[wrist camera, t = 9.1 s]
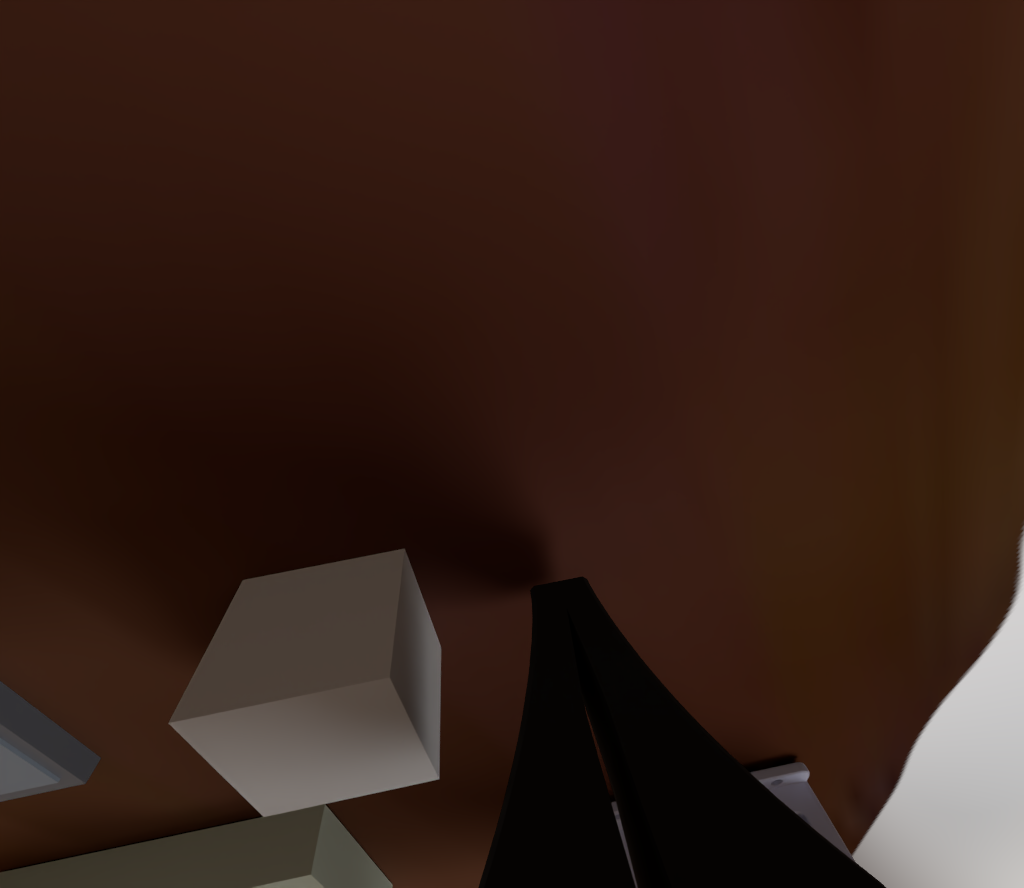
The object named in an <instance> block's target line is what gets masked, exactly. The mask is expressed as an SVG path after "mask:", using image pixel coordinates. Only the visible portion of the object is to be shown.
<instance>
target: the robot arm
mask: <svg viewBox="0 0 1024 888" xmlns="http://www.w3.org/2000/svg"><path fill="white" fill-rule="evenodd" d="M530 592H531V598H532V615H533V624H532V645H531V656H530V667H529V676H528V683H527V690H526V696H525V703H524V710H523V716H522V721H521V727H520V732H519V737H518V742H517V747H516V751H515V756H514V761H513V765H512V769H511V773H510V778H509V782H508V786H507V790H506V794H505V798H504V802H503V806H502V809H501V813H500V817H499V821H498V824H497V828H496V831H495V835H494V838H493V841H492V845H491V848H490V851H489V855H488V858H487V861H486V865H485V868H484V871H483V875H482V878H481V881H480V885H479V888H886V887H885V886H884V885H883V884H882V883H880V882H879V881H878V880H877V879H875V878H874V877H873V876H872V875H871V874H869V873H868V872H867V871H866V870H864V869H863V868H862V867H860V866H859V865H858V864H857V863H856V862H855V861H854V859H853V857H852V856H851V854H850V852H849V851H848V849H847V847H846V846H845V844H844V842H843V841H842V839H841V837H840V836H839V834H838V832H837V831H836V829H835V827H834V826H833V824H832V822H831V821H830V819H829V817H828V816H827V814H826V812H825V811H824V809H823V807H822V806H821V804H820V802H819V801H818V799H817V797H816V796H815V794H814V792H813V791H812V789H811V787H810V786H809V784H808V782H807V779H808V777H809V771H808V769H807V767H806V766H805V764H803V763H801V762H795V763H790V764H786V765H781V766H777V767H772V768H767V769H763V770H758V771H753V772H749V771H748V770H747V769H746V768H744V767H743V766H742V765H741V764H740V763H739V762H738V761H737V760H736V759H735V758H734V757H732V756H731V755H730V754H729V753H728V752H727V751H726V750H725V749H724V748H723V747H722V746H721V745H720V744H719V743H718V742H717V741H716V740H715V739H714V738H713V737H712V736H711V735H710V734H709V733H708V732H707V731H706V730H705V729H704V728H703V727H702V726H701V725H700V724H699V723H698V722H697V721H696V720H695V719H694V718H693V717H692V716H691V715H690V714H689V712H688V711H687V710H686V709H685V708H684V707H683V706H682V705H681V704H680V703H679V702H678V701H677V700H676V698H675V697H674V696H673V695H672V694H671V693H670V692H669V691H668V690H667V688H666V687H665V686H664V685H663V684H662V683H661V681H660V680H659V679H658V678H657V677H656V676H655V674H654V673H653V672H652V671H651V670H650V669H649V667H648V666H647V665H646V664H645V662H644V661H643V660H642V659H641V658H640V656H639V655H638V654H637V652H636V651H635V650H634V649H633V647H632V646H631V645H630V643H629V642H628V641H627V639H626V638H625V637H624V636H623V634H622V633H621V632H620V630H619V629H618V627H617V626H616V625H615V623H614V622H613V620H612V619H611V618H610V616H609V615H608V613H607V612H606V610H605V609H604V607H603V606H602V604H601V603H600V601H599V599H598V598H597V596H596V595H595V593H594V591H593V589H592V588H591V586H590V584H589V582H588V580H587V579H586V578H584V577H578V578H573V579H568V580H563V581H558V582H553V583H548V584H543V585H538V586H534V587H533V588H532V589H531V590H530ZM583 701H584V702H583ZM584 704H585V706H584ZM585 707H586V710H587V713H588V716H589V719H590V722H591V725H592V728H593V731H594V734H595V737H596V740H597V743H598V746H599V749H600V752H601V755H602V758H603V761H604V764H605V767H606V770H607V773H608V776H609V779H610V783H611V786H612V790H613V793H614V796H615V800H616V801H614V802H611V800H610V797H609V793H608V790H607V786H606V783H605V779H604V776H603V772H602V769H601V765H600V762H599V758H598V755H597V751H596V747H595V744H594V740H593V737H592V733H591V729H590V726H589V722H588V719H587V715H586V711H585Z"/></svg>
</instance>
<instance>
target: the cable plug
mask: <svg viewBox="0 0 1024 888" xmlns="http://www.w3.org/2000/svg"><path fill="white" fill-rule="evenodd" d="M440 694H441V646H440V643H439V640H438V638H437V635H436V632H435V629H434V627H433V624H432V621H431V619H430V616H429V613H428V610H427V608H426V605H425V602H424V600H423V597H422V594H421V591H420V589H419V586H418V583H417V581H416V578H415V575H414V572H413V570H412V567H411V564H410V562H409V559H408V556H407V553H406V551H405V549H400V550H395V551H390V552H384V553H379V554H374V555H369V556H364V557H359V558H354V559H349V560H343V561H338V562H333V563H328V564H323V565H318V566H313V567H307V568H302V569H297V570H292V571H287V572H282V573H277V574H271V575H266V576H261V577H256V578H251V579H246V580H243V581H242V583H241V584H240V586H239V588H238V590H237V592H236V594H235V596H234V598H233V600H232V602H231V604H230V606H229V608H228V609H227V611H226V613H225V615H224V617H223V619H222V621H221V623H220V625H219V627H218V629H217V631H216V633H215V634H214V636H213V638H212V640H211V642H210V644H209V646H208V648H207V650H206V652H205V654H204V656H203V658H202V659H201V661H200V663H199V665H198V667H197V669H196V671H195V673H194V675H193V677H192V679H191V681H190V683H189V685H188V686H187V688H186V690H185V692H184V694H183V696H182V698H181V700H180V702H179V704H178V706H177V708H176V710H175V711H174V713H173V715H172V717H171V719H170V721H169V724H170V725H171V726H172V727H173V728H174V729H175V730H176V731H177V732H178V733H179V734H180V735H181V736H182V737H183V738H184V739H185V740H186V741H187V742H188V743H189V744H190V745H191V746H192V747H193V748H194V749H195V750H196V751H197V752H198V753H199V754H200V755H201V756H202V757H203V758H204V759H205V760H206V761H207V762H208V763H209V764H210V765H211V766H212V767H213V768H214V769H215V770H216V771H217V772H218V773H219V774H221V775H222V776H223V777H224V778H225V779H226V780H227V781H228V782H229V783H230V784H231V785H232V786H233V787H234V788H235V789H236V790H237V791H238V792H239V793H240V794H241V795H242V796H243V797H244V798H245V799H246V800H247V801H248V802H249V803H250V804H251V805H252V806H253V807H254V808H255V809H256V810H257V811H258V812H259V813H260V814H261V815H262V816H263V817H267V816H271V815H276V814H281V813H285V812H290V811H295V810H299V809H304V808H309V807H313V806H318V805H322V804H327V803H332V802H336V801H341V800H346V799H350V798H355V797H360V796H364V795H369V794H374V793H378V792H383V791H387V790H392V789H397V788H401V787H406V786H411V785H415V784H420V783H425V782H429V781H434V780H438V779H439V767H440Z"/></svg>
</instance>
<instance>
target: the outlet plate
mask: <svg viewBox="0 0 1024 888" xmlns="http://www.w3.org/2000/svg"><path fill="white" fill-rule="evenodd" d="M392 886H393V885H392V884H391V882H390V881H389V880H388V879H387V878H386V876H385V875H384V874H383V873H382V872H381V870H380V869H379V868H378V867H377V866H376V864H375V863H374V862H373V861H372V860H371V858H370V857H369V856H368V855H367V854H366V852H365V851H364V850H363V849H362V848H361V846H360V845H359V844H358V843H357V842H356V840H355V839H354V838H353V837H352V836H351V834H350V833H349V832H348V831H347V830H346V828H345V827H344V826H343V825H342V824H341V822H340V821H339V820H338V819H337V818H336V816H335V815H334V814H333V813H332V812H331V810H330V809H329V808H328V807H327V806H326V804H322V805H318V806H313V807H309V808H304V809H299V810H295V811H290V812H285V813H281V814H276V815H271V816H267V817H260V818H255V819H251V820H246V821H241V822H237V823H232V824H227V825H222V826H218V827H213V828H208V829H203V830H199V831H194V832H189V833H185V834H180V835H175V836H170V837H166V838H161V839H156V840H151V841H147V842H142V843H137V844H133V845H128V846H123V847H118V848H114V849H109V850H104V851H99V852H95V853H90V854H85V855H81V856H76V857H71V858H66V859H62V860H57V861H52V862H47V863H43V864H38V865H33V866H29V867H24V868H19V869H14V870H10V871H5V872H0V888H392Z"/></svg>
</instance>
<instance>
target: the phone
mask: <svg viewBox="0 0 1024 888" xmlns="http://www.w3.org/2000/svg"><path fill="white" fill-rule="evenodd" d="M100 759H101V758H100V757H99V756H97V755H96V754H95V753H94V752H92V751H91V750H90V749H88V748H87V747H86V746H84V745H83V744H82V743H80V742H79V741H78V740H77V739H75V738H74V737H73V736H71V735H70V734H69V733H67V732H66V731H65V730H63V729H62V728H61V727H60V726H58V725H57V724H56V723H54V722H53V721H52V720H50V719H49V718H48V717H46V716H45V715H44V714H43V713H41V712H40V711H39V710H37V709H36V708H35V707H33V706H32V705H31V704H29V703H28V702H27V701H26V700H24V699H23V698H22V697H20V696H19V695H18V694H16V693H15V692H14V691H12V690H11V689H10V688H9V687H7V686H6V685H5V684H3V683H2V682H1V681H0V802H1V801H6V800H11V799H15V798H20V797H25V796H30V795H34V794H39V793H44V792H49V791H53V790H58V789H63V788H67V787H72V786H77V785H82V784H86V782H87V780H88V779H89V777H90V776H91V774H92V772H93V771H94V769H95V767H96V766H97V764H98V762H99V761H100Z"/></svg>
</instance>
